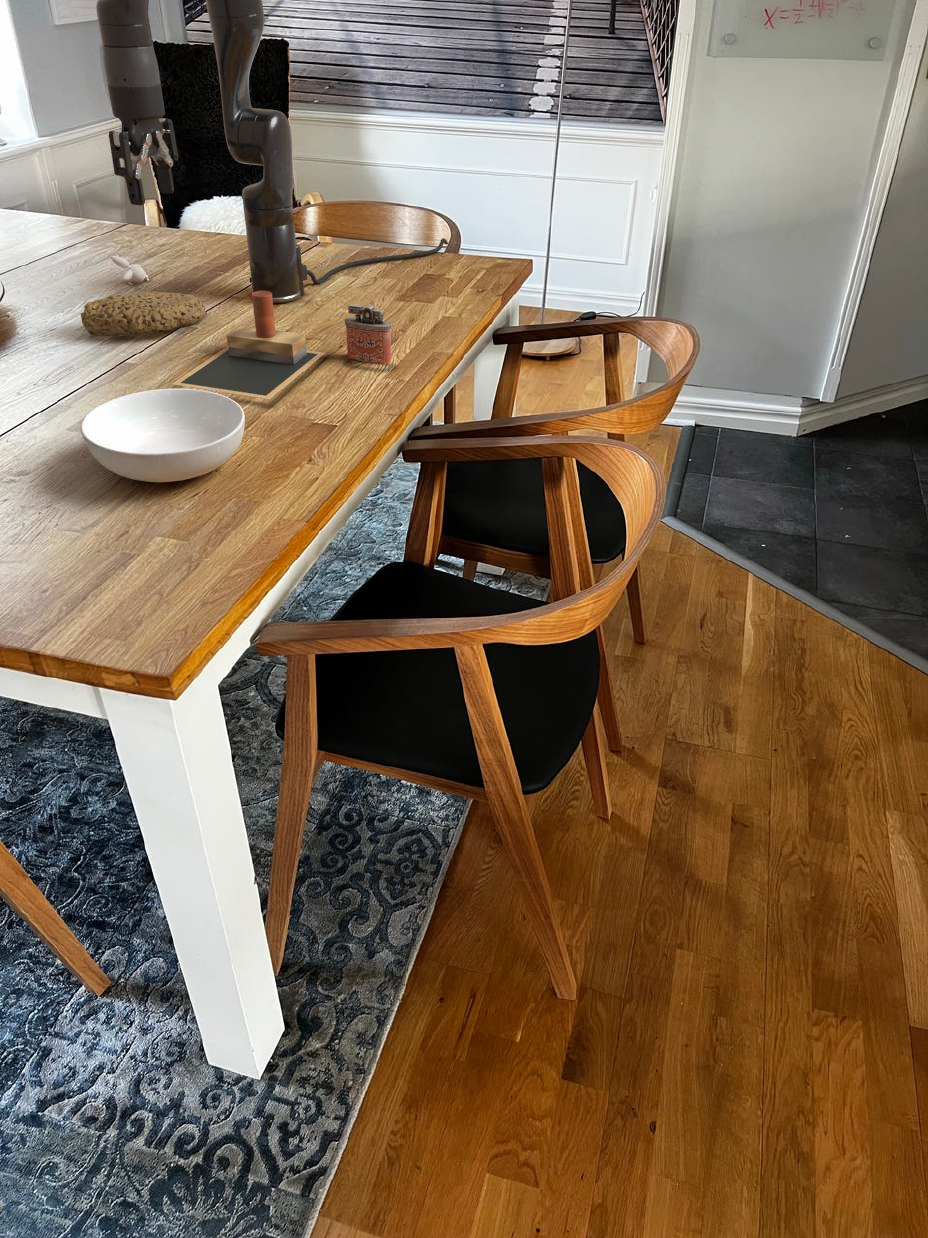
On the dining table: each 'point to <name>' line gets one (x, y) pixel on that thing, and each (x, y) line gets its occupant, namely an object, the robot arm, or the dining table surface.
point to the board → (245, 374)
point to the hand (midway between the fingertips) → (153, 198)
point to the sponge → (141, 314)
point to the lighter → (368, 335)
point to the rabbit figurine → (130, 270)
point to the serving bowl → (164, 433)
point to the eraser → (266, 336)
